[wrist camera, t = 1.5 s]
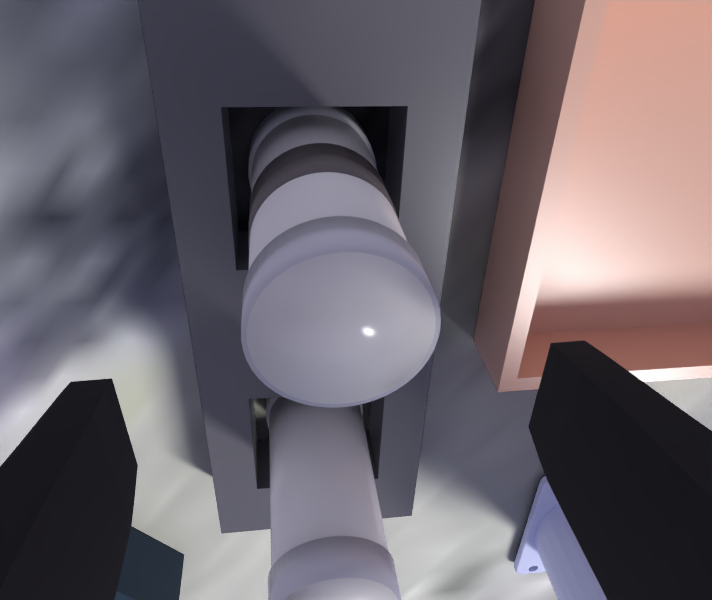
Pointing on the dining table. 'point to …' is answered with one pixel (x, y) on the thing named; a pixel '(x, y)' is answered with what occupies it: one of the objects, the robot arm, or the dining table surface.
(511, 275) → the parts tray
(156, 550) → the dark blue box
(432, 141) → the fuse holder
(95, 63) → the dining table surface
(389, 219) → the cylinder
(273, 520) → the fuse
